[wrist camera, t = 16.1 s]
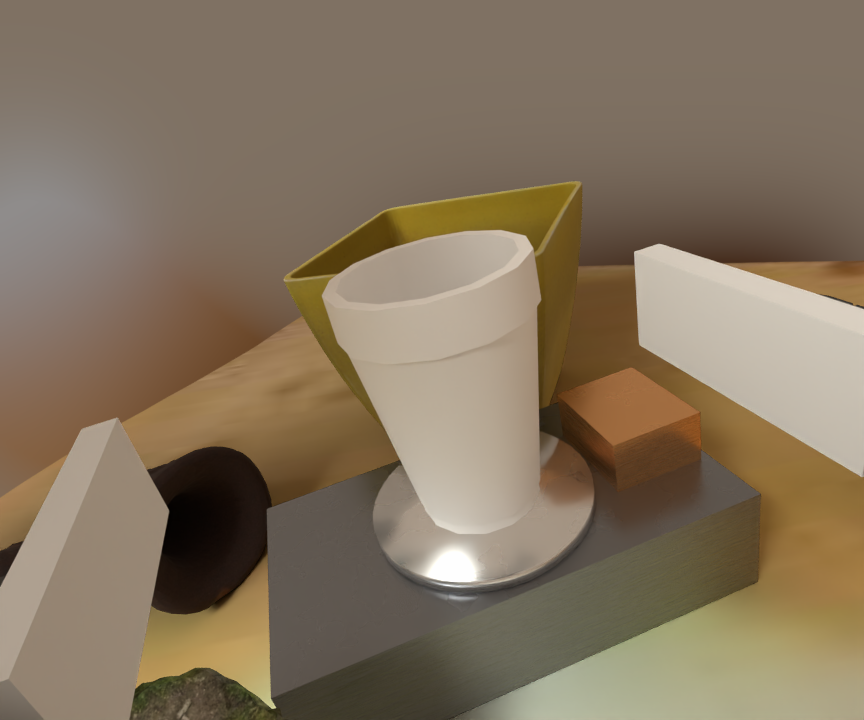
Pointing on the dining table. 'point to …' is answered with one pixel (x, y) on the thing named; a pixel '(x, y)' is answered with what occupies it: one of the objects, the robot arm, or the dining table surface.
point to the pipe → (203, 528)
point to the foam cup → (451, 368)
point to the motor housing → (504, 565)
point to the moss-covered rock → (199, 699)
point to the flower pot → (509, 211)
